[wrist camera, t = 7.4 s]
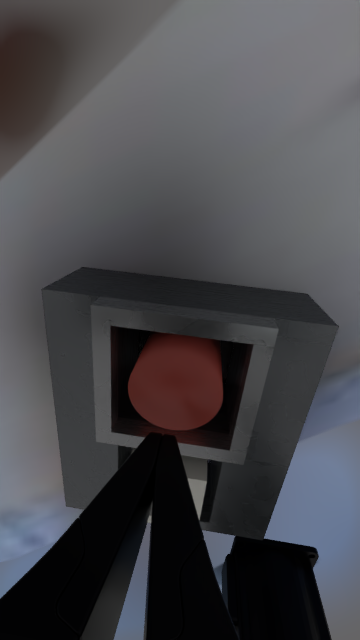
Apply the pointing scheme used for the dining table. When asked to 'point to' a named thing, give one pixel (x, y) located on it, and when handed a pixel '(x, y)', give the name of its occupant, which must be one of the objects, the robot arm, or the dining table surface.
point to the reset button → (177, 381)
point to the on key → (194, 480)
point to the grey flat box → (239, 391)
